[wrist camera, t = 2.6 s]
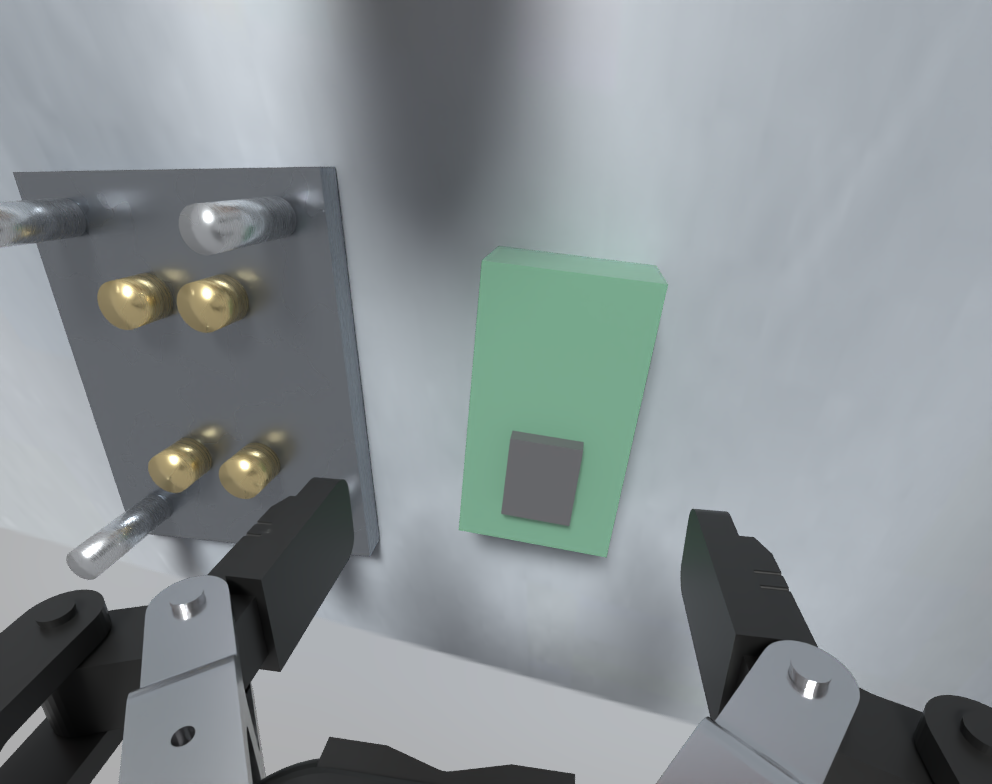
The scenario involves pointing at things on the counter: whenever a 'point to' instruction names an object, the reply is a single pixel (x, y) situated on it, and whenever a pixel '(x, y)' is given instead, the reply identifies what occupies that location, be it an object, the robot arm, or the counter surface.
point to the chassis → (205, 342)
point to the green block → (556, 394)
